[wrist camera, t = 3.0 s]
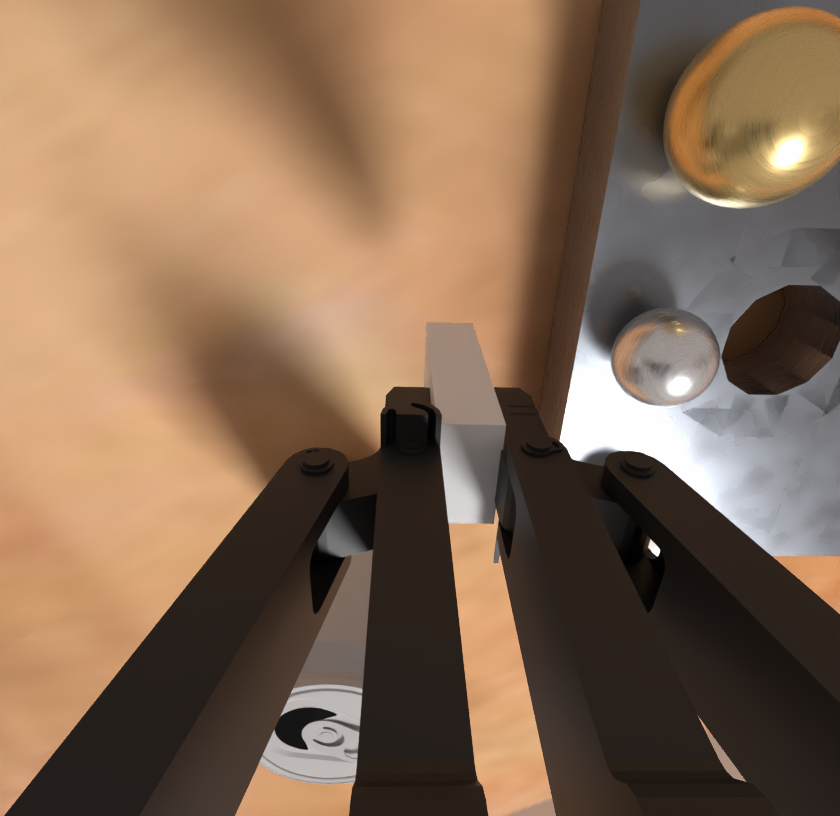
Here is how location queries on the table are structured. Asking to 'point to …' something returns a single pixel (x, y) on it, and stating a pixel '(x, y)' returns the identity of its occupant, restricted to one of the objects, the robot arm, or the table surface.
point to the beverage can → (327, 692)
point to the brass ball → (758, 109)
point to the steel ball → (665, 357)
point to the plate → (698, 296)
